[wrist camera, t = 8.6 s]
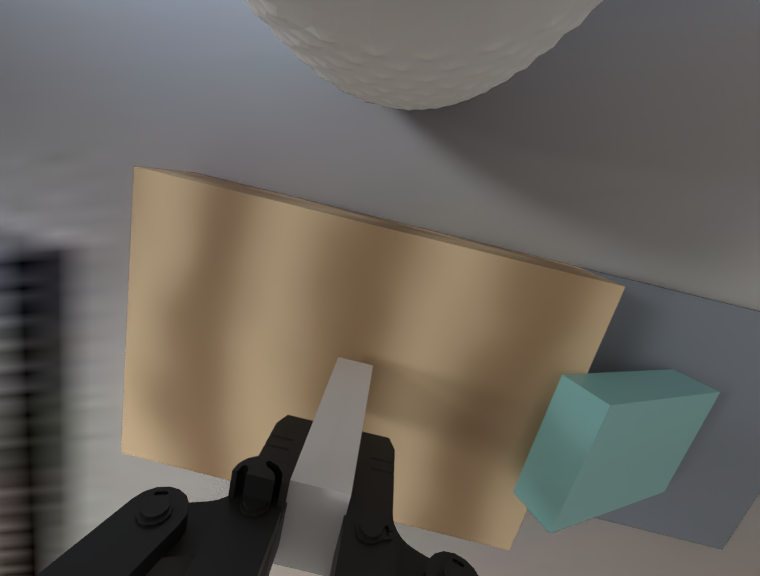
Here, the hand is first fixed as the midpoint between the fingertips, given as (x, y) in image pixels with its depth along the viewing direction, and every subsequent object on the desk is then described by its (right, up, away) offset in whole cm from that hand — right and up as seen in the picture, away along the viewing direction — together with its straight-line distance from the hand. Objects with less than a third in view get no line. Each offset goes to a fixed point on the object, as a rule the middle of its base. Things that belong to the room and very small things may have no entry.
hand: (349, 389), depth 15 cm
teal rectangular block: (+12, -2, +2) cm, 12 cm away
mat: (+16, -3, +5) cm, 17 cm away
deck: (0, +1, +5) cm, 5 cm away
